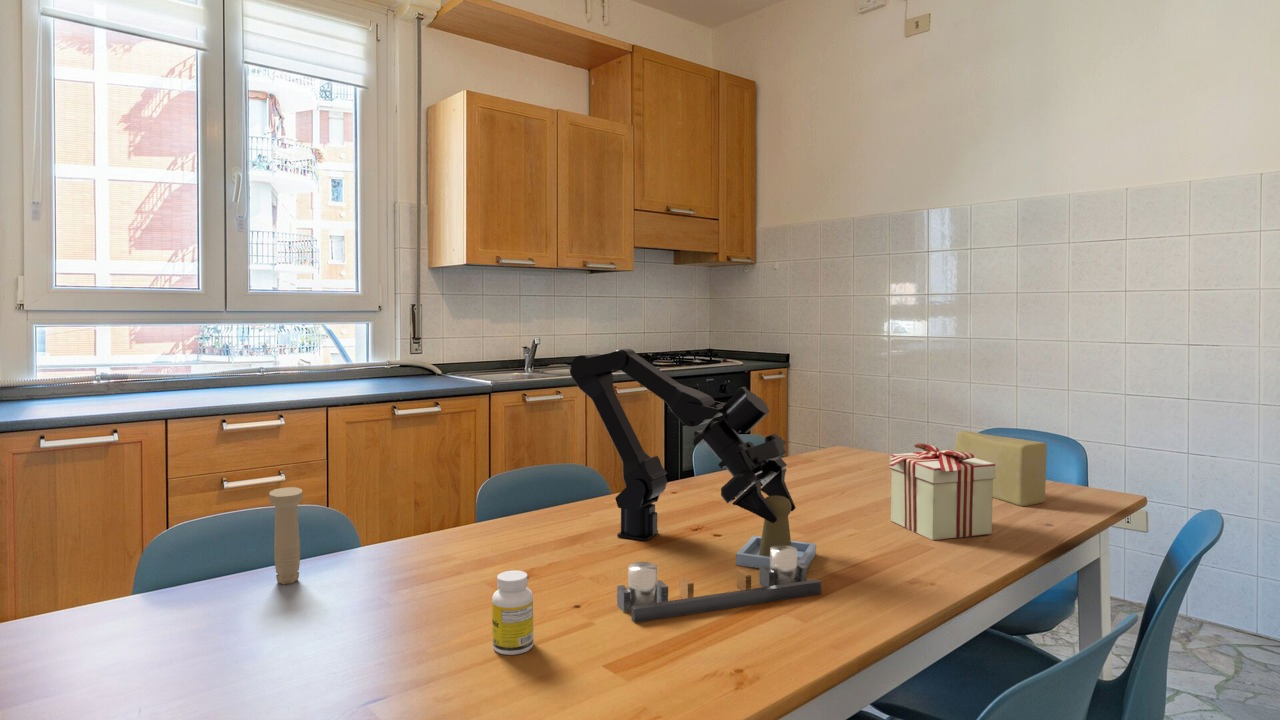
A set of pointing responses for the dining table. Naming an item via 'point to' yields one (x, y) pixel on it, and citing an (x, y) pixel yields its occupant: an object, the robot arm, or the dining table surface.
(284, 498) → the handle
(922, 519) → the gift box
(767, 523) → the olive knobbed post
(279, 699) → the dining table surface
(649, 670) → the dining table surface
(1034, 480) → the cheese
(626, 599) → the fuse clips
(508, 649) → the supplement bottle
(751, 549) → the tray
